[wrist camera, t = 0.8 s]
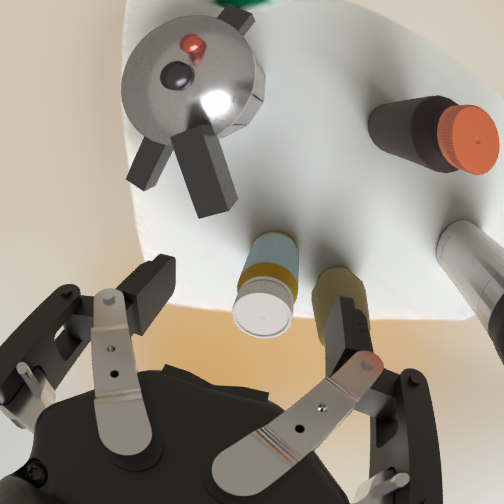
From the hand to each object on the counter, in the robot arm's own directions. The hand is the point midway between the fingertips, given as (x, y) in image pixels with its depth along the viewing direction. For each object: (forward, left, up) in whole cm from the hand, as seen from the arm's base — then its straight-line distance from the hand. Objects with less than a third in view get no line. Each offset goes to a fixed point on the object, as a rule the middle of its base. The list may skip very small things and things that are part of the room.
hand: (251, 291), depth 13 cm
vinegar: (-14, -9, -26) cm, 31 cm away
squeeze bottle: (-10, +15, -26) cm, 31 cm away
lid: (+9, -9, -16) cm, 21 cm away
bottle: (0, +10, -26) cm, 28 cm away
